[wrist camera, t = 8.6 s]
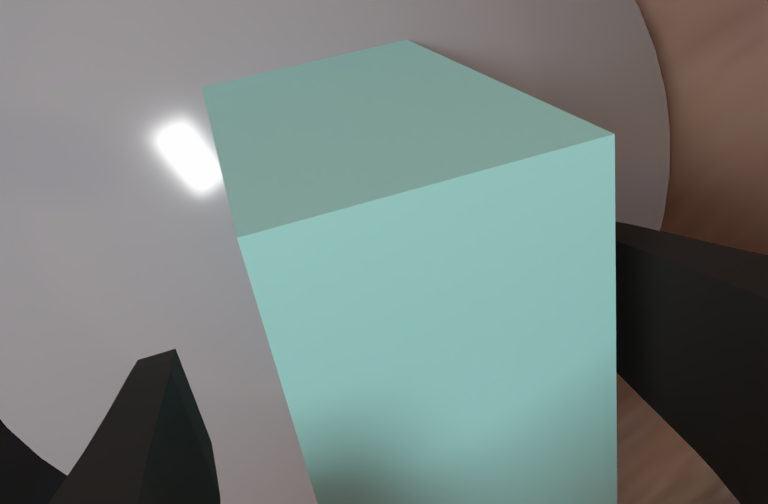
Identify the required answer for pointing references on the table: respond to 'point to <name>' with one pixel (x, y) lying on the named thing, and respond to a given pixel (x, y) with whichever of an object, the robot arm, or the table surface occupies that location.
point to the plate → (208, 194)
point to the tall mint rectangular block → (429, 277)
